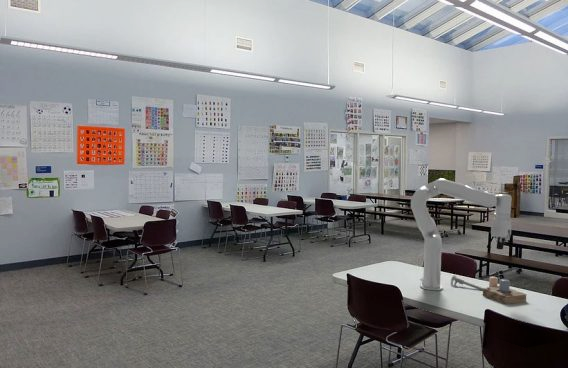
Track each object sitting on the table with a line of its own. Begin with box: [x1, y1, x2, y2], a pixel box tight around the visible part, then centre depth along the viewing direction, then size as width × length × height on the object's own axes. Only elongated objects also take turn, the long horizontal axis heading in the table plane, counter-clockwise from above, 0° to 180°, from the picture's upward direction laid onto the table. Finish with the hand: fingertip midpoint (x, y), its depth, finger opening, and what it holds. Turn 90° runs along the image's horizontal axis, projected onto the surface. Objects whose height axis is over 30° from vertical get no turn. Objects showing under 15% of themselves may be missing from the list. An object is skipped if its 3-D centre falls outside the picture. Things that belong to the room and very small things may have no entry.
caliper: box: [450, 274, 484, 292], centre depth 257 cm, size 20×1×6 cm, turn 51°
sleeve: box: [498, 278, 511, 293], centre depth 238 cm, size 5×5×10 cm
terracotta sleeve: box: [488, 276, 499, 287], centre depth 251 cm, size 4×4×8 cm
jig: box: [482, 285, 527, 305], centre depth 238 cm, size 16×14×5 cm
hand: (499, 248), depth 242 cm, fingers closed
